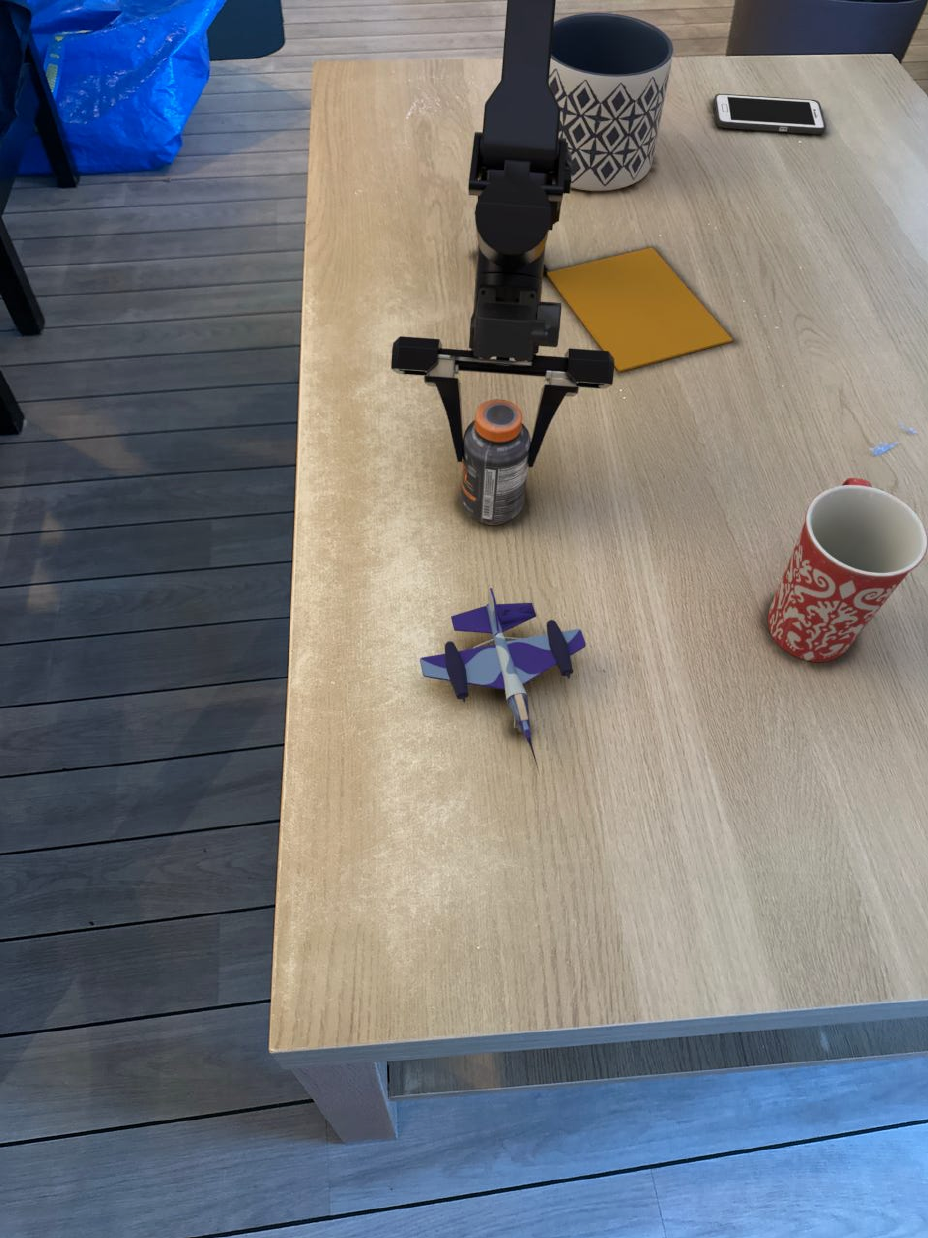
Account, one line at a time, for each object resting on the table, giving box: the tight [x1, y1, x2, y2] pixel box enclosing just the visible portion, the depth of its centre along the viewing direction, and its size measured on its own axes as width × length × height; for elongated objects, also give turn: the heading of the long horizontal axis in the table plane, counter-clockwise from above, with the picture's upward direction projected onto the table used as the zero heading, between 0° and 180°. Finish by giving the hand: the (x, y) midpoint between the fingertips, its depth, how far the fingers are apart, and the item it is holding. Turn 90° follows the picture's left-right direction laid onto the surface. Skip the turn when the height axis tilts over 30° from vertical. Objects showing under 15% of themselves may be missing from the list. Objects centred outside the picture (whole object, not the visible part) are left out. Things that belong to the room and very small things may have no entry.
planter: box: [549, 12, 675, 192], centre depth 119 cm, size 16×16×14 cm
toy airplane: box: [419, 587, 587, 776], centre depth 77 cm, size 13×14×4 cm
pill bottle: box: [460, 398, 531, 526], centre depth 86 cm, size 6×6×11 cm
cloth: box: [545, 247, 733, 373], centre depth 108 cm, size 18×14×1 cm
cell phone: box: [713, 93, 827, 135], centre depth 132 cm, size 8×15×1 cm, turn 86°
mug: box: [767, 477, 928, 663], centre depth 79 cm, size 13×9×14 cm
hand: (494, 464), depth 84 cm, fingers closed on pill bottle, 6 cm apart
